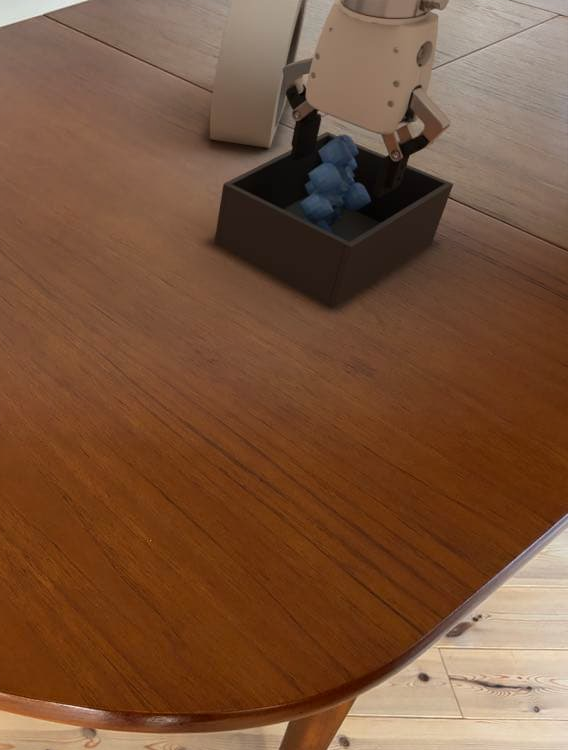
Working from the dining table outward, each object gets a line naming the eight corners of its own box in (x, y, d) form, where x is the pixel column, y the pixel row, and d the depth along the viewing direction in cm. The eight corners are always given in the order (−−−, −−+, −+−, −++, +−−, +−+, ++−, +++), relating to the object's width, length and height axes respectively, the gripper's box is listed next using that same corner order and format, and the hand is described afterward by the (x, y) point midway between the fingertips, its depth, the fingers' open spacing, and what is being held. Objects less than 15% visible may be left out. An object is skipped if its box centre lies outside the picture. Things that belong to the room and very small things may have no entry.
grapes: (341, 280, 86) (372, 171, 78) (275, 262, 89) (299, 155, 80) (369, 225, 93) (401, 120, 85) (308, 209, 96) (333, 106, 88)
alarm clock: (264, 164, 104) (297, -7, 91) (203, 155, 106) (227, -14, 93) (289, 93, 119) (320, -64, 105) (235, 86, 121) (259, -70, 107)
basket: (430, 247, 91) (453, 183, 86) (332, 312, 83) (351, 246, 78) (312, 192, 100) (327, 131, 94) (213, 246, 92) (223, 183, 87)
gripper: (506, 7, 70) (441, 194, 82) (330, -41, 80) (294, 132, 92) (457, 31, 67) (396, 221, 79) (279, -22, 77) (248, 154, 89)
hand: (341, 173), depth 85 cm, fingers open, 9 cm apart
